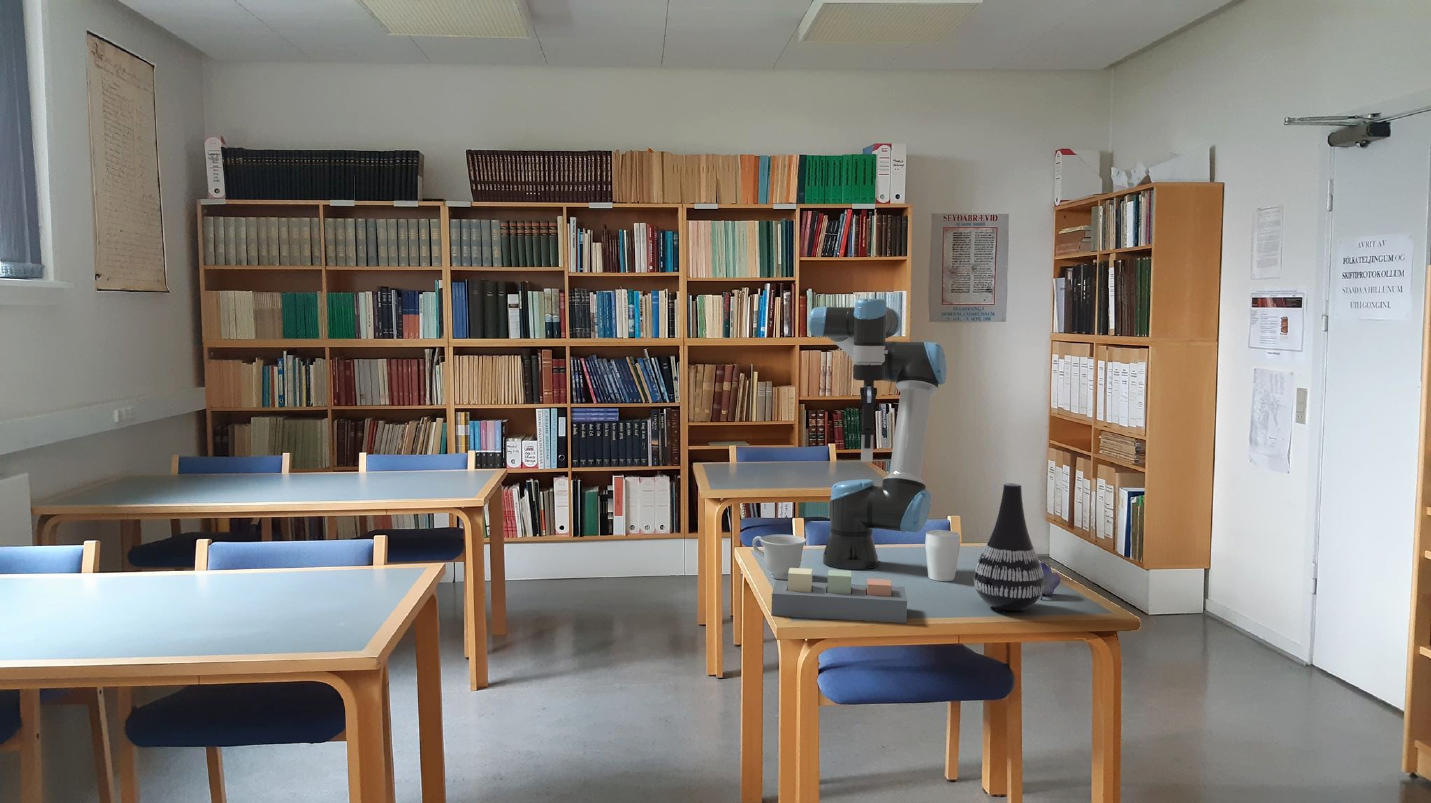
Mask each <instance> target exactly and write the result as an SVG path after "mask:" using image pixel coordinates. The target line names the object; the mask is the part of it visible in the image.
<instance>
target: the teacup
mask: <svg viewBox="0 0 1431 803" xmlns="http://www.w3.org/2000/svg"><path fill="white" fill-rule="evenodd" d="M757 541H759V542H760V545H761V546H763V551H762V550H761V549H760V548H759V547H758V545H757ZM806 543H807V539H806V538H805V537H803V536H799V535H795V534H793V535H792V534H769V535H764V536H760V535H759V536H755V537H754V538H753V539H752V548H753V550H754V551H755V553H757V554H758V555H761V557H762V558H763V559H764V564H765V567H766V569H767V570H768V571H769V572H771V578H773V579H776V580H782V581H786V580H788V572H789V568H801V562H802V560H803V558H802V557H803V551H804V546H805V544H806Z"/></svg>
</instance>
